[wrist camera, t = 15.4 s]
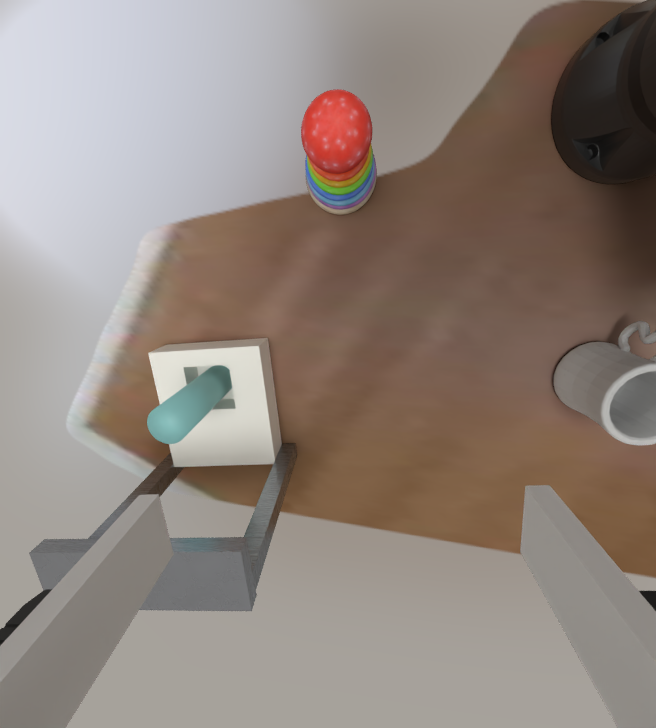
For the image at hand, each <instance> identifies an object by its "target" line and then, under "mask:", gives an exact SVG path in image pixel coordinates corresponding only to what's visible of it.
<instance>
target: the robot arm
mask: <svg viewBox="0 0 656 728" xmlns="http://www.w3.org/2000/svg"><path fill="white" fill-rule="evenodd" d="M552 131H553V136H554V140H555V143H556V146H557V149H558V151H559V153H560V155H561V156H562V158H563V159H564V161H565V162H566V163H567V165H568V166H569V167H570V168H571V169H572V170H574V171H575V172H576V173H578V174H579V175H581V176H582V177H584V178H586V179H589V180H591V181H595V182H599V183H605V184H620V183H626V182H631V181H634V180H638V179H641V178H645V177H648V176H651V175H654V174H656V0H647V1H644V2H642V3H639V4H637V5H635V6H632V7H630V8H628V9H627V10H625V11H623V12H622V13H620V14H618V15H617V16H615V17H614V18H612V19H611V20H610V21H608V22H607V23H606V24H605V25H604V26H602V27H601V28H600V29H599V30H598V31H597V32H596V33H595V34H594V35H593V36H592V37H591V38H590V39H588V40H587V41H586V42H585V43H584V44H583V45H582V47H581V48H580V49H579V50H578V51H577V52H576V54H575V55H574V56H573V58H572V59H571V61H570V62H569V64H568V65H567V67H566V69H565V71H564V73H563V75H562V77H561V79H560V81H559V84H558V87H557V90H556V93H555V97H554V101H553V108H552ZM520 552H521V554H522V556H523V558H524V560H525V561H526V563H527V565H528V567H529V569H530V570H531V572H532V574H533V576H534V577H535V579H536V581H537V583H538V585H539V587H540V588H541V590H542V592H543V594H544V596H545V597H546V599H547V601H548V603H549V605H550V606H551V608H552V610H553V612H554V614H555V616H556V617H557V619H558V621H559V623H560V624H561V626H562V628H563V630H564V632H565V634H566V635H567V637H568V639H569V640H570V643H571V645H572V646H573V648H574V650H575V652H576V653H577V655H578V657H579V659H580V661H581V663H582V664H583V666H584V668H585V670H586V672H587V673H588V675H589V677H590V679H591V680H592V682H593V684H594V686H595V688H596V690H597V691H598V693H599V695H600V697H601V699H602V701H603V702H604V704H605V706H606V708H607V710H608V711H609V713H610V715H611V717H612V718H613V720H614V722H615V724H616V726H617V728H656V591H638V590H637V589H636V587H635V586H634V585H633V584H632V583H631V581H630V580H629V579H628V578H627V577H626V575H625V574H624V573H623V572H622V571H621V570H620V568H619V567H618V566H617V565H616V564H615V562H614V561H613V560H612V559H611V558H610V557H609V555H608V554H607V553H606V552H605V551H604V549H603V548H602V547H601V546H600V545H599V543H598V542H597V541H596V540H595V539H594V538H593V536H592V535H591V534H590V533H589V532H588V530H587V529H586V528H585V527H584V526H583V525H582V523H581V522H580V521H579V520H578V519H577V517H576V516H575V515H574V514H573V513H572V512H571V510H570V509H569V508H568V507H567V506H566V504H565V503H564V502H563V501H562V500H561V498H560V497H559V496H558V495H557V494H556V493H555V491H554V490H553V489H552V488H551V487H550V485H540V486H525V499H524V512H523V525H522V537H521V550H520ZM172 556H173V550H172V546H171V541H170V537H169V534H168V529H167V526H166V521H165V517H164V513H163V509H162V505H161V501H160V497H159V494H151V495H139V496H138V497H137V498H136V499H135V500H134V501H133V502H132V504H131V505H130V506H129V507H128V508H127V509H126V510H125V511H124V512H123V513H122V514H121V515H120V517H119V518H118V519H117V520H116V521H115V522H114V523H113V524H112V525H111V526H110V527H109V529H108V530H107V531H106V532H105V533H104V534H103V535H102V536H101V537H100V538H99V539H98V540H97V542H96V543H95V544H94V545H93V546H92V547H91V548H90V549H89V550H88V551H87V552H86V553H85V555H84V556H83V557H82V558H81V559H80V560H79V561H78V562H77V563H76V564H75V565H74V566H73V568H72V569H71V570H70V571H69V572H68V573H67V574H66V575H65V576H64V577H63V578H62V579H61V581H60V582H59V583H58V584H57V585H56V586H55V587H54V588H53V589H45V590H44V591H43V592H41V593H40V594H38V595H37V596H36V597H34V598H33V599H32V600H30V601H29V602H28V603H26V604H25V605H24V606H23V607H22V608H21V609H20V610H19V611H18V612H17V613H16V614H15V615H14V616H13V617H12V618H11V619H10V620H9V621H8V622H7V623H6V626H5V627H4V628H2V629H0V728H66V726H67V724H68V723H69V721H70V720H71V718H72V716H73V715H74V713H75V712H76V710H77V709H78V707H79V705H80V704H81V702H82V701H83V699H84V697H85V696H86V694H87V692H88V691H89V689H90V688H91V686H92V684H93V683H94V681H95V680H96V678H97V676H98V675H99V673H100V671H101V670H102V668H103V667H104V665H105V663H106V662H107V660H108V659H109V657H110V655H111V654H112V652H113V651H114V649H115V647H116V646H117V644H118V643H119V641H120V639H121V638H122V636H123V635H124V633H125V631H126V630H127V628H128V626H129V625H130V623H131V622H132V620H133V619H134V617H135V615H136V614H137V612H138V611H139V609H140V607H141V606H142V604H143V602H144V601H145V599H146V598H147V596H148V594H149V593H150V591H151V590H152V588H153V586H154V585H155V583H156V582H157V580H158V578H159V577H160V575H161V574H162V572H163V570H164V569H165V567H166V566H167V564H168V562H169V561H170V559H171V557H172Z"/></svg>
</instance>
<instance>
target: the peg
mask: <svg viewBox="0 0 656 728" xmlns="http://www.w3.org/2000/svg"><path fill="white" fill-rule="evenodd" d="M231 389H232V382H231V376H230V370H229V369H228V368H227V367H225V366H222V365H214V366H212V367H210V368H209V369H208V370H206V371H205V372H204V373H202V374H201V375H199V376H198V377H197V378H195V379H194V380H193V381H191V382H190V383H189V384H187V385H186V386H185V387H183V388H182V389H181V390H179V391H178V392H177V393H175V394H174V395H173V396H171V397H170V398H168V399H167V400H166V401H164V402H163V403H162V404H160V405H159V406H158V407H156V408H155V409H154V410H152V411H151V412H150V414H149V416H148V419H147V425H148V429H149V431H150V433H151V434H152V435H153V437H154V438H156V439H157V440H158V441H160V442H163V443H166V444H175V443H178V442H180V441H181V440H182V439H183V438H184V437H185V436H186V435H187V434H188V433H189V432H190V431H191V430H192V429H193V428H194V427H195V426H196V425H197V424H198V423H199V422H200V421H201V420H202V419H203V418H204V417H205V416H206V415H207V414H208V413H209V412H210V410H211V409H212V408H213V407H214V406H215V405H216V404H217V403H218V402H219V401H220V400H221V399H222V398H223V397H224V396H225V395H226V394H227V393H228V392H229V391H230V390H231Z"/></svg>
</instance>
